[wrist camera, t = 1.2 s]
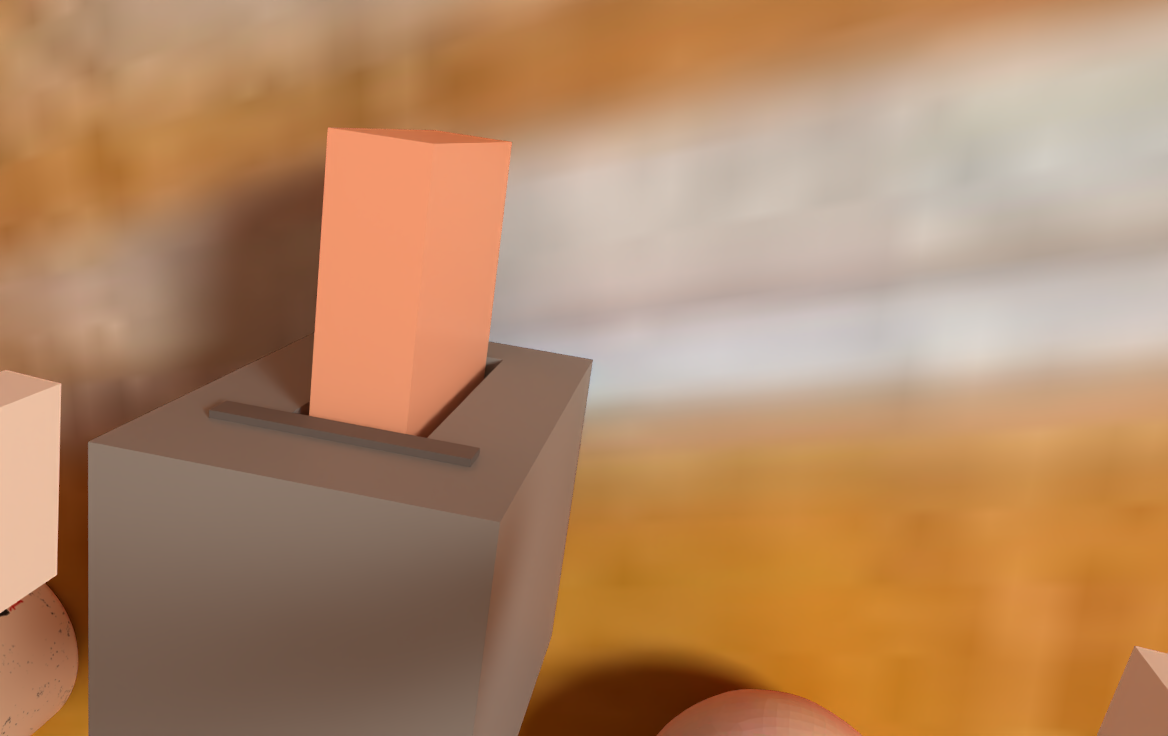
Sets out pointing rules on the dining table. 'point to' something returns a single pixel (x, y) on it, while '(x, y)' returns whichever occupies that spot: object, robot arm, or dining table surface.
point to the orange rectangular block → (405, 275)
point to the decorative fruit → (757, 717)
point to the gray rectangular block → (329, 557)
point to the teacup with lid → (35, 662)
